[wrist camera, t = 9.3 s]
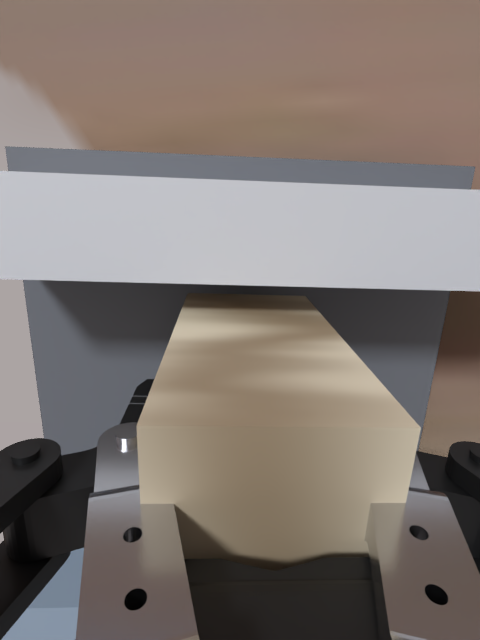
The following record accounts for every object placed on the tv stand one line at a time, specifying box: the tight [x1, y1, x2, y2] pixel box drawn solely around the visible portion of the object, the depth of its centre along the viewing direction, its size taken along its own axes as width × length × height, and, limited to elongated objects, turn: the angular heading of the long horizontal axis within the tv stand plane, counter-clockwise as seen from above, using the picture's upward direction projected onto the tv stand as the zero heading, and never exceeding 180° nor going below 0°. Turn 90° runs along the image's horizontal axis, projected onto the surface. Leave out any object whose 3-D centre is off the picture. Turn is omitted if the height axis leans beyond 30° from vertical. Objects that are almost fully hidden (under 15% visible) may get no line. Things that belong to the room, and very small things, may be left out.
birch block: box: [136, 293, 421, 571], centre depth 10 cm, size 4×6×8 cm, turn 178°
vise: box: [0, 147, 480, 455], centre depth 15 cm, size 16×24×6 cm, turn 178°
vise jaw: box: [1, 548, 84, 640], centre depth 16 cm, size 16×8×4 cm, turn 88°
